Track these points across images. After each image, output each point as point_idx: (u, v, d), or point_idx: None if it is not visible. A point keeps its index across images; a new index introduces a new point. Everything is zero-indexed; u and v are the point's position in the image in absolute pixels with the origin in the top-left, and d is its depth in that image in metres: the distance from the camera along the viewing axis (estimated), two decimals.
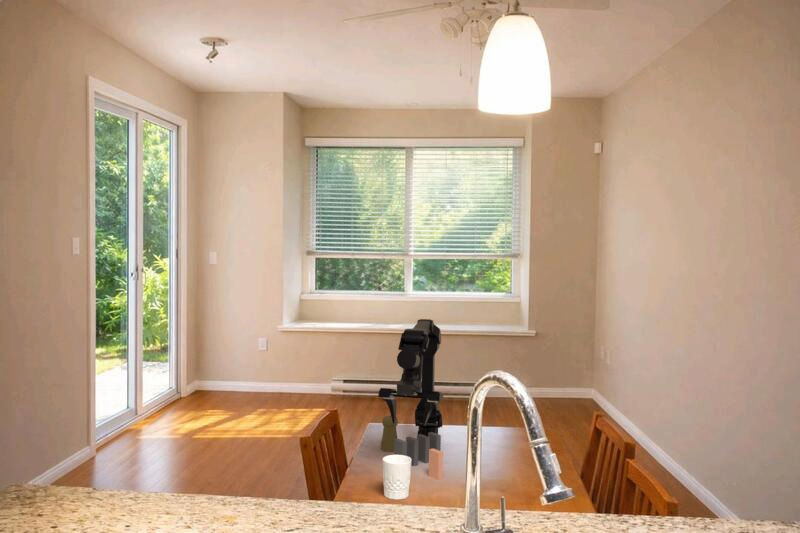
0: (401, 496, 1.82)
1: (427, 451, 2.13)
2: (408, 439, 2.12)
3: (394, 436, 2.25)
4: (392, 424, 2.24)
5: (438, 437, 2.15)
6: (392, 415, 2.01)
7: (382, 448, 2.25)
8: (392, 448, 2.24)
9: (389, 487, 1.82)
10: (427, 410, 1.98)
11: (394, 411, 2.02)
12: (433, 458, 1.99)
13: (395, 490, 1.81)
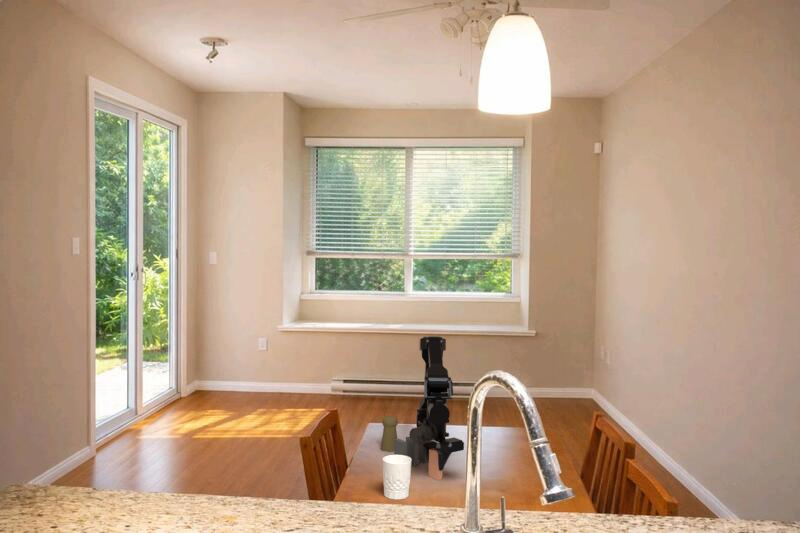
0: (401, 496, 1.82)
1: None
2: (408, 439, 2.12)
3: (394, 436, 2.25)
4: (392, 424, 2.24)
5: None
6: (427, 458, 2.01)
7: (382, 448, 2.25)
8: (392, 448, 2.24)
9: (389, 487, 1.82)
10: (439, 456, 1.96)
11: None
12: (433, 458, 1.99)
13: (395, 490, 1.81)
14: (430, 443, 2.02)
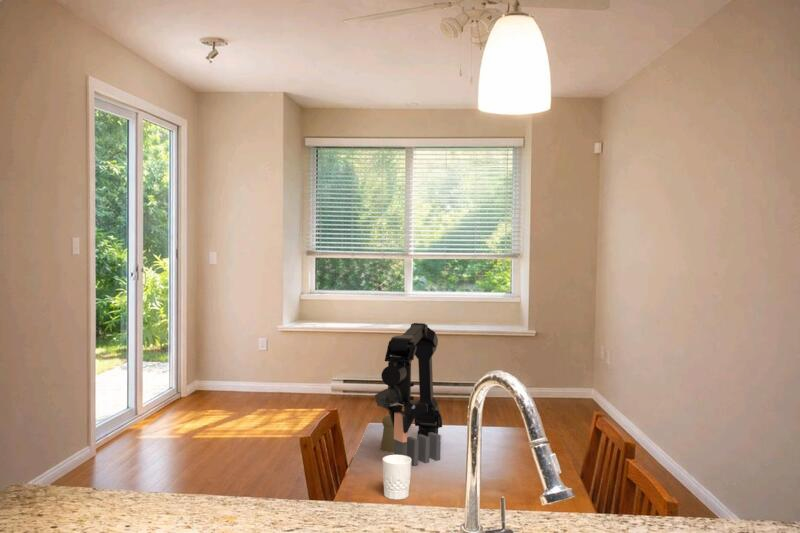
0: (401, 496, 1.82)
1: (427, 451, 2.13)
2: (408, 439, 2.12)
3: None
4: (392, 424, 2.24)
5: (438, 437, 2.15)
6: (392, 421, 2.04)
7: (382, 448, 2.25)
8: (392, 448, 2.24)
9: (389, 487, 1.82)
10: (404, 419, 1.99)
11: None
12: (398, 421, 2.02)
13: (395, 490, 1.81)
14: (395, 407, 2.05)
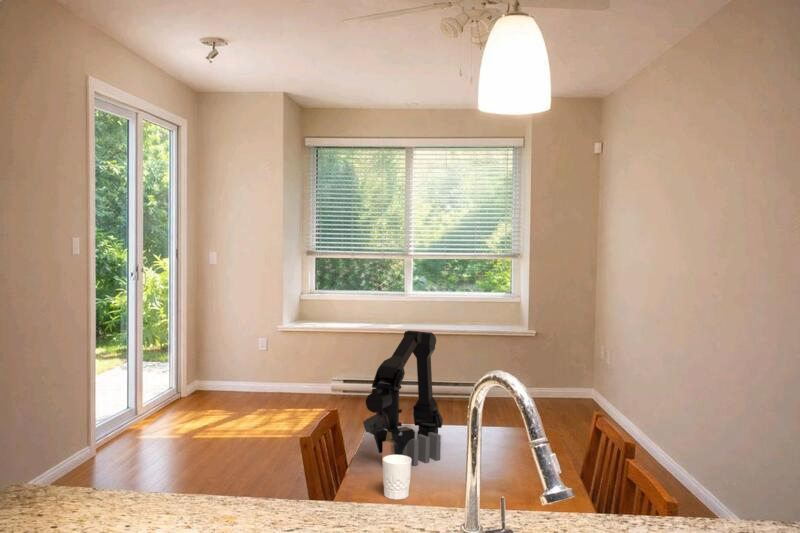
0: (401, 496, 1.82)
1: (427, 451, 2.13)
2: None
3: None
4: None
5: (438, 437, 2.15)
6: (377, 445, 2.10)
7: None
8: None
9: (389, 487, 1.82)
10: (395, 446, 2.01)
11: (380, 441, 2.10)
12: (386, 450, 2.06)
13: (395, 490, 1.81)
14: (380, 431, 2.10)
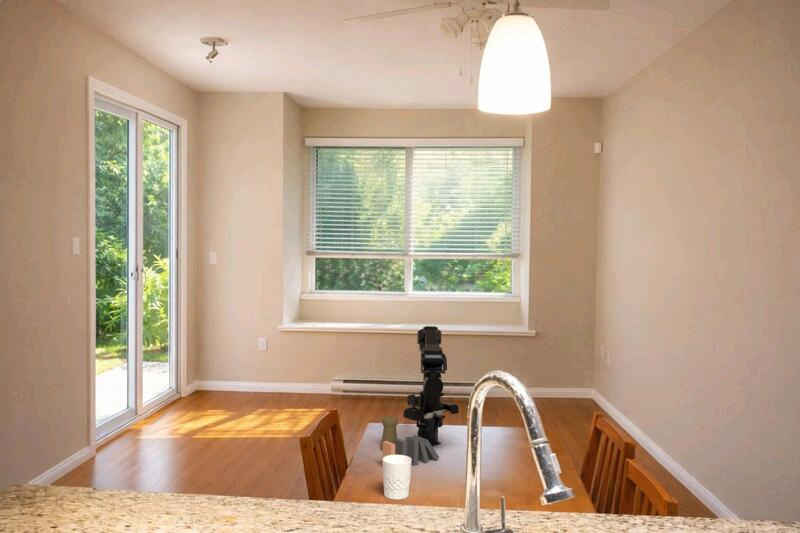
0: (401, 496, 1.82)
1: (424, 451, 2.12)
2: (408, 439, 2.12)
3: (394, 436, 2.25)
4: (392, 424, 2.24)
5: (426, 443, 2.13)
6: None
7: (382, 448, 2.25)
8: None
9: (389, 487, 1.82)
10: None
11: None
12: (386, 450, 2.06)
13: (395, 490, 1.81)
14: (433, 417, 2.17)
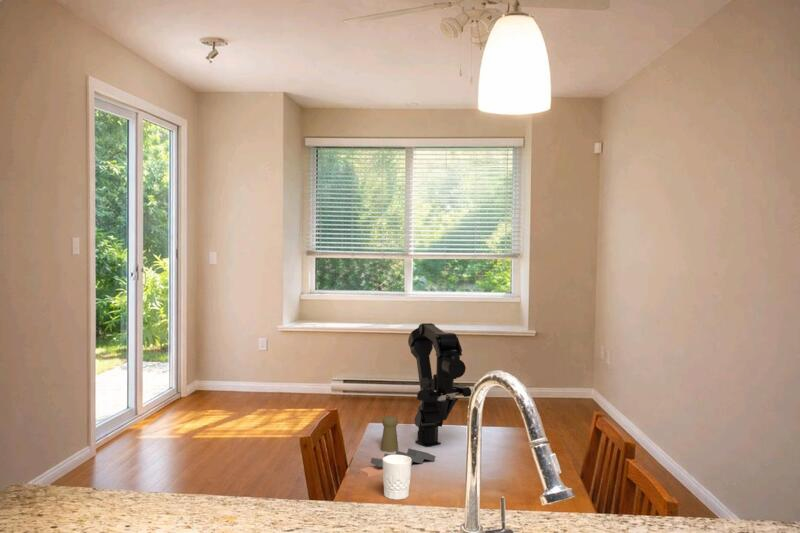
0: (401, 496, 1.82)
1: (414, 459, 2.10)
2: None
3: (394, 436, 2.25)
4: (392, 424, 2.24)
5: (417, 454, 2.11)
6: None
7: (382, 448, 2.25)
8: (392, 448, 2.24)
9: (389, 487, 1.82)
10: None
11: None
12: None
13: (395, 490, 1.81)
14: (446, 399, 2.20)
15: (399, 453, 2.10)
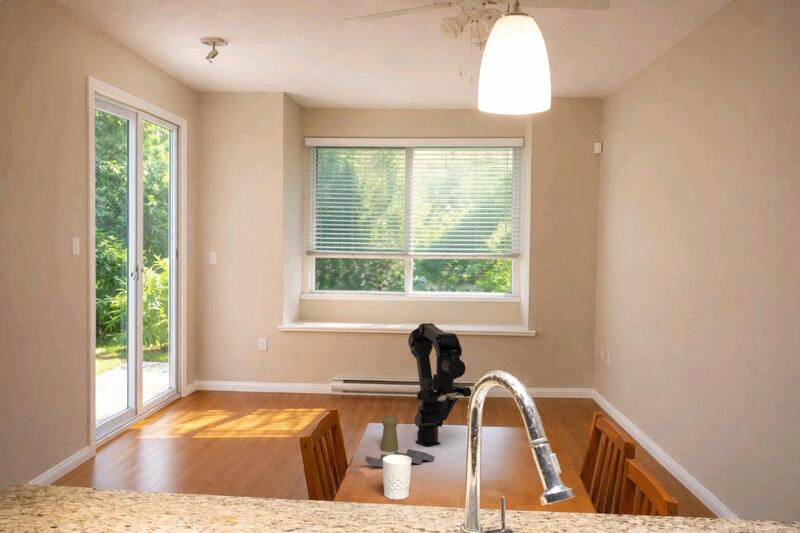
0: (401, 496, 1.82)
1: (412, 459, 2.10)
2: None
3: (394, 436, 2.25)
4: (392, 424, 2.24)
5: (416, 455, 2.10)
6: None
7: (382, 448, 2.25)
8: (392, 448, 2.24)
9: (389, 487, 1.82)
10: None
11: None
12: None
13: (395, 490, 1.81)
14: (446, 399, 2.20)
15: (397, 454, 2.09)
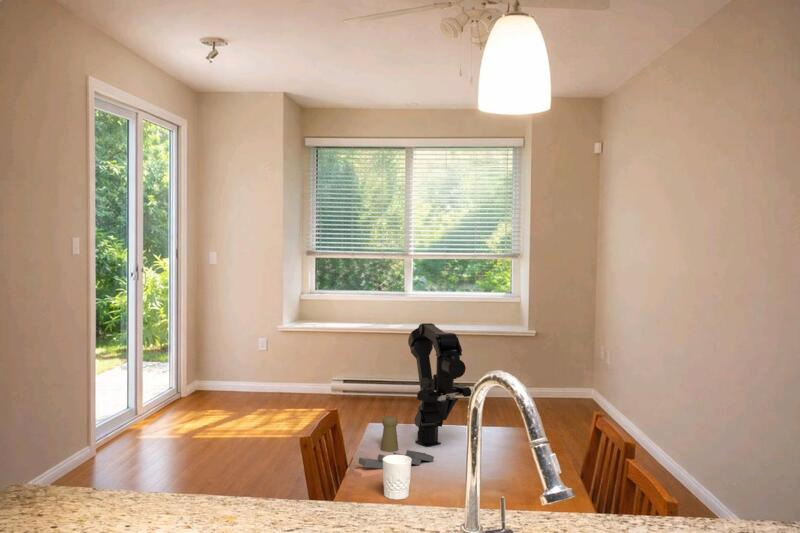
0: (401, 496, 1.82)
1: (412, 460, 2.09)
2: (380, 460, 2.06)
3: (394, 436, 2.25)
4: (392, 424, 2.24)
5: (416, 456, 2.10)
6: None
7: (382, 448, 2.25)
8: (392, 448, 2.24)
9: (389, 487, 1.82)
10: None
11: None
12: None
13: (395, 490, 1.81)
14: (446, 399, 2.20)
15: None
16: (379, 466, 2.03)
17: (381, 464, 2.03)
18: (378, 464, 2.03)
